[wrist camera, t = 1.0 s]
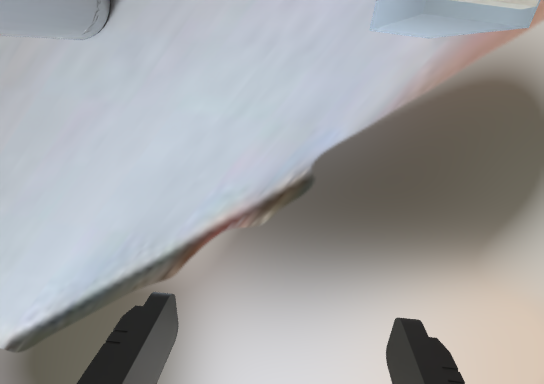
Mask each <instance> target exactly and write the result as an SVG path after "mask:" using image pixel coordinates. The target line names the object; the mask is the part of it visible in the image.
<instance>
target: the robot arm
mask: <svg viewBox="0 0 544 384" xmlns="http://www.w3.org/2000/svg"><path fill="white" fill-rule="evenodd" d="M109 6H110V0H0V36H17V37H35V38H52V39H73V40H83V39H87V38H90V37H92V36H94V35H96V34H97V33H98V32H99V31H100V30H101V29H102V28H103V26H104V24H105V22H106V20H107V17H108V14H109ZM177 332H178V316H177V308H176V299H175V295H174V294H168V293H167V294H166V293H157V292H153V293H152V294H151V295H150V296H149V298H148V299H147V301H146V302H145V304H144V306H135V307H133V308H132V309H131V310H130V311H128V312H127V313H126V314H125V315H123V317H122V318H121V319H120V321H119V322H118V324H117V325H116V327H115V328H114V329H113V332H112V333H111V334H110V336H109V337H108V338H107V340H106V343H105V344H103V346H102V347H101V349H100V350H99V352H98V353H97V355H96V356H95V357H94V359H93V360H92V362H91V363H90V365H89V366H88V368H87V369H86V371H85V372H84V374H83V375H82V377H81V378H80V380H79V381H78V383H77V384H157V381H158V379H159V377H160V374H161V372H162V370H163V367H164V365H165V363H166V361H167V358H168V356H169V354H170V352H171V349H172V347H173V345H174V342H175V339H176V336H177ZM386 359H387V366H388V369H389V373H390V377H391V380H392V384H465V382H464V380H463V378H462V376H461V374H460V372H458V368H457V366H456V364H455V362H454V360H453V358H452V356H451V354H450V352H449V351H448V350H447V349H446V348H445V346H444V345H443V344H442V343H441V342H440V341H439V340H438V339H437V338H432V337H428V335H427V333H426V330H425V328H424V326H423V324H422V322H421V321H420V320H416V319H406V318H396V319H395V321H394V325H393V328H392V331H391V334H390V338H389V341H388V345H387V349H386Z"/></svg>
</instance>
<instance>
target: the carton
mask: <svg viewBox="0 0 544 384" xmlns="http://www.w3.org/2000/svg"><path fill="white" fill-rule="evenodd" d="M539 3H540V0H376V5H375V9H374V13H373V18H372V22H371V26H370V31H377V32H384V33H392V34H399V35H407V36H414V37H422V38H437V37H446V36H455V35H465V34H474V33H483V32H493V31H502V30H511V29H521V28H529V26H530V23H531V21H532V19H533V16H534V14H535V12H536V10H537V7H538V5H539Z"/></svg>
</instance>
